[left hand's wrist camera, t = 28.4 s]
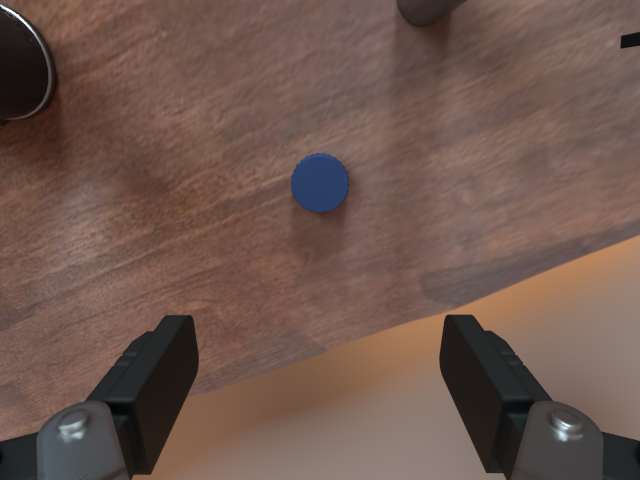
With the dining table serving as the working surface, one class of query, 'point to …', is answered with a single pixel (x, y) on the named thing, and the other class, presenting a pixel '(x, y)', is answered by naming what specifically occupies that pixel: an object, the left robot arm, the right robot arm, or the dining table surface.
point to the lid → (319, 183)
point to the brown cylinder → (427, 10)
